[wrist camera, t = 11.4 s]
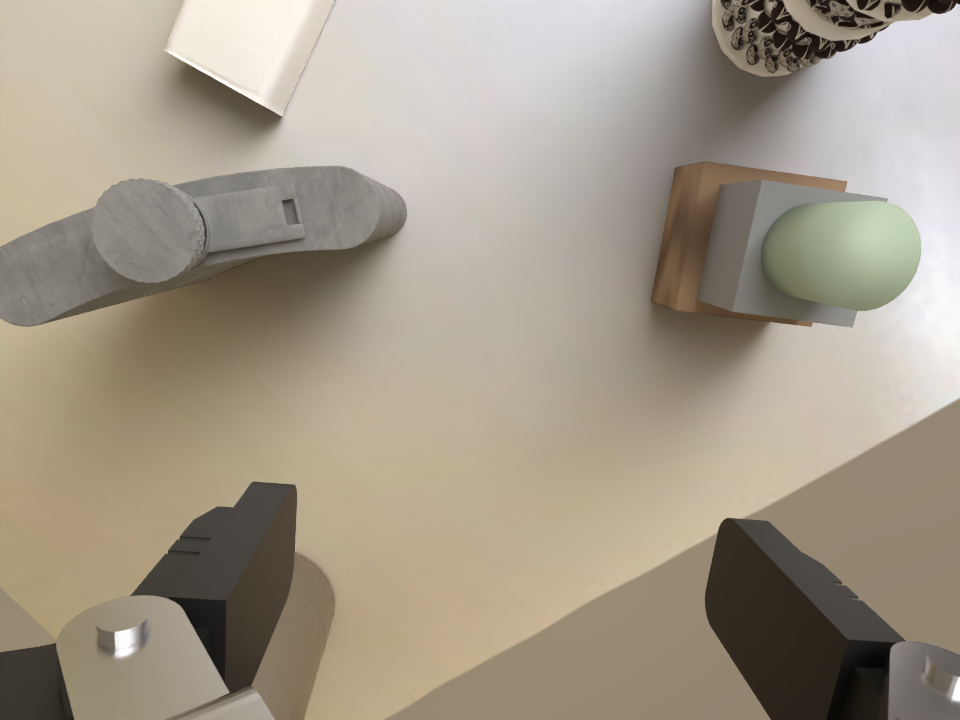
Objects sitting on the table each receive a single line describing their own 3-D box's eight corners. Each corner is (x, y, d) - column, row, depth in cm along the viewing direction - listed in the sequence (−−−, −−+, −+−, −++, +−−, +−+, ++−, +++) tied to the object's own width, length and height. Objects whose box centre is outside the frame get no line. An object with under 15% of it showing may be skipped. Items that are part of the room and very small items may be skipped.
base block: (771, 314, 44) (811, 326, 40) (649, 299, 44) (675, 310, 39) (801, 185, 42) (847, 181, 38) (674, 167, 42) (704, 161, 37)
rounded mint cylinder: (863, 210, 33) (934, 209, 28) (838, 303, 34) (903, 317, 29) (773, 197, 33) (830, 193, 28) (751, 291, 34) (802, 303, 29)
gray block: (802, 313, 39) (852, 327, 34) (696, 299, 39) (732, 311, 34) (830, 200, 38) (887, 198, 33) (720, 184, 37) (762, 179, 32)
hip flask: (181, 286, 41) (-53, 348, 22) (160, 226, 40) (-104, 235, 21) (412, 229, 41) (382, 242, 22) (396, 168, 40) (350, 123, 21)
